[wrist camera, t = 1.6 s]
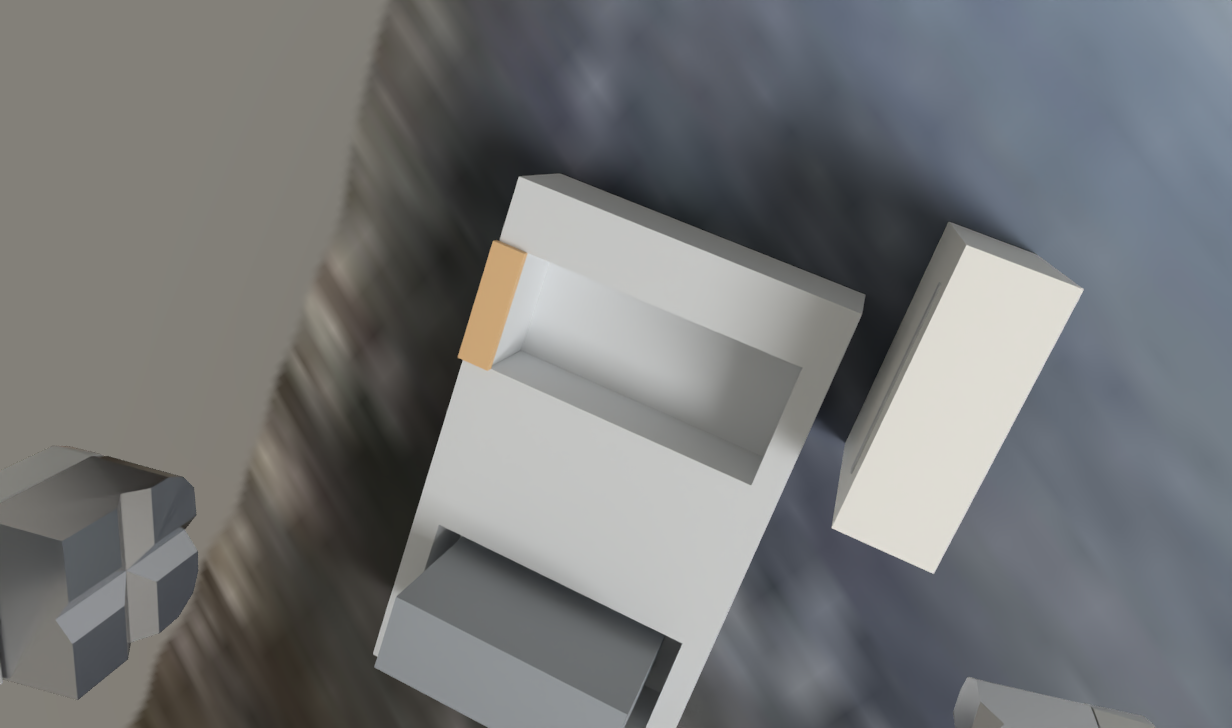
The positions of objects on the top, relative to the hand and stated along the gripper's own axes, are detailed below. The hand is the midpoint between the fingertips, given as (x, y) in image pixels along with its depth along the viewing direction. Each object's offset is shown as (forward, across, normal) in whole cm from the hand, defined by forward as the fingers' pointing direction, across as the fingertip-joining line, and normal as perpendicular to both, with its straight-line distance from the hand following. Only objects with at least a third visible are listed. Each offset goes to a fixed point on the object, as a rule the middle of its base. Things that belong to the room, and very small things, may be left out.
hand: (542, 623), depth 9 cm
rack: (+24, -4, -10) cm, 27 cm away
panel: (+24, +7, -3) cm, 26 cm away
